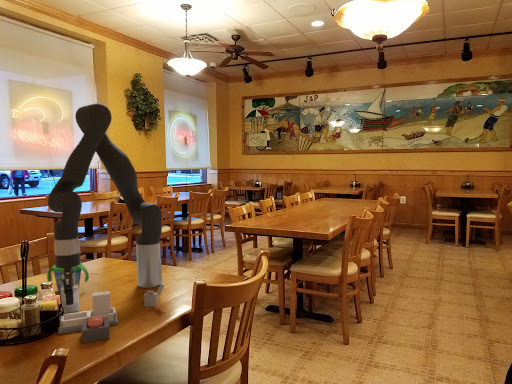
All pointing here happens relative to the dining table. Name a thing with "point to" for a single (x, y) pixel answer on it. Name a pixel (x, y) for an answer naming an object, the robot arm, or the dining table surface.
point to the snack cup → (59, 275)
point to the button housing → (95, 332)
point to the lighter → (152, 296)
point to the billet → (75, 305)
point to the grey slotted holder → (89, 314)
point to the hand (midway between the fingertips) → (70, 302)
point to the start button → (95, 321)
